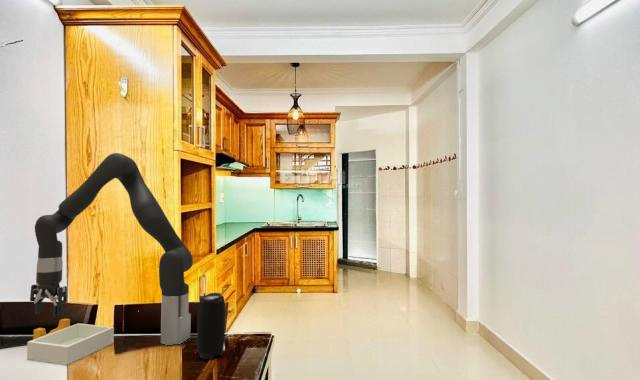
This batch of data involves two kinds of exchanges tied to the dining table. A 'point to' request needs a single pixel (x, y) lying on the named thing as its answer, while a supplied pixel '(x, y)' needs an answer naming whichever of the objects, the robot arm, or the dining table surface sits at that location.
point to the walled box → (70, 343)
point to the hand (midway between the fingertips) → (47, 314)
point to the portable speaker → (211, 325)
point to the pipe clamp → (41, 331)
